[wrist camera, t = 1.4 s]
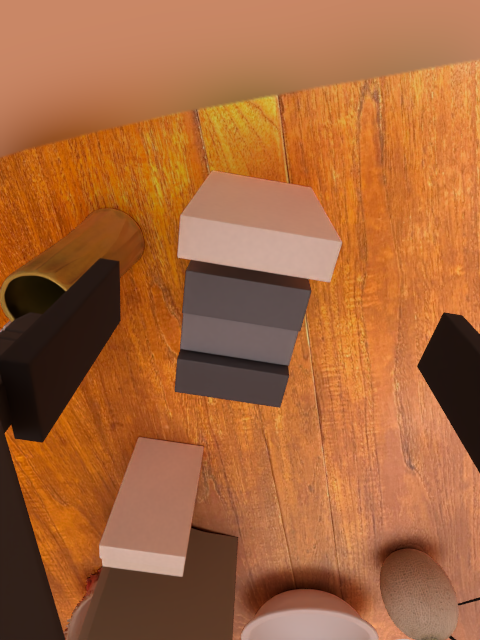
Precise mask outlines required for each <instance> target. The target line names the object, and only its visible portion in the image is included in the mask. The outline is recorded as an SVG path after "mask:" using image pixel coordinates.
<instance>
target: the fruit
mask: <svg viewBox="0 0 480 640" xmlns="http://www.w3.org/2000/svg"><path fill="white" fill-rule="evenodd" d="M380 589H381V594H382V598H383V601H384V604H385V607H386V609H387V612H388V614H389V616H390V617H391V619H392V620H393V622H394V624H395V625H396V626H397V627H398V628H399V629H400V630H401V631H402V632H403V633H404V634H406V635H407V636H408V637H410V638H412V639H415V640H446V639H447V638H449V637H450V636H451V635H452V633H453V632H454V630H455V628H456V626H457V622H458V615H459V613H458V602H457V597H456V594H455V591H454V588H453V586H452V584H451V582H450V580H449V578H448V576H447V575H446V573H445V571H444V570H443V569H442V567H441V566H440V565H439V564H438V563H437V562H436V561H435V560H434V559H433V558H432V557H430V556H429V555H427V554H426V553H424V552H422V551H419V550H416V549H409V548H408V549H401V550H397V551H395V552H393V553H391V554H390V555H388V556H387V557H386V559H385V560H384V562H383V564H382V567H381V572H380Z"/></svg>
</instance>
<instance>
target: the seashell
mask: <svg viewBox="0 0 480 640" xmlns="http://www.w3.org/2000/svg"><path fill="white" fill-rule="evenodd" d="M101 570H102V567H101V569H100V570H98V573H99V574H97V575H90V576H91V578H87V581H86V582H87V583H88V584H87V586H86V589H87V593H86V595H85V596H84V597H83V598H84V599H82V601H79V602H80V603H78V604H77V606H76V607H75V608H76V609H74V611H73V613H72V614H73V615H72V616H71V619H69V620H67V622H70V623H69V624H68V625H67V626H66V627H68V628H67V629H66V630H65V631H64V632H63V633H64V636H65V639H66V640H78V637H79V634H80V631H81V628H82V625H83V622H84V619H85V616H86V614H87V611H88V608H89V605H90V602H91V599H92V596H93V593H94V590H95V587H96V584H97V581H98V579H99V576H100V573H101Z"/></svg>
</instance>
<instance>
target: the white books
mask: <svg viewBox="0 0 480 640" xmlns="http://www.w3.org/2000/svg"><path fill="white" fill-rule="evenodd" d="M203 450H204V447H203V446H197V445H190V444H183V443H177V442H170V441H163V440H156V439H149V438H142V437H138V440H137V443H136V446H135V448H134V451H133V454H132V456H131V459H130V462H129V465H128V467H127V470H126V473H125V476H124V478H123V481H122V484H121V487H120V489H119V492H118V495H117V498H116V500H115V503H114V506H113V508H112V511H111V514H110V517H109V519H108V522H107V525H106V528H105V530H104V533H103V536H102V539H101V541H100V544H99V552H100V558H102V566H105V567H112V568H120V569H127V570H135V571H142V572H150V573H157V574H165V575H172V576H180V577H182V576H183V572H184V566H185V560H186V554H187V548H188V542H189V536H190V530H191V524H192V518H193V512H194V506H195V500H196V494H197V488H198V482H199V476H200V469H201V463H202V456H203Z"/></svg>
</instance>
